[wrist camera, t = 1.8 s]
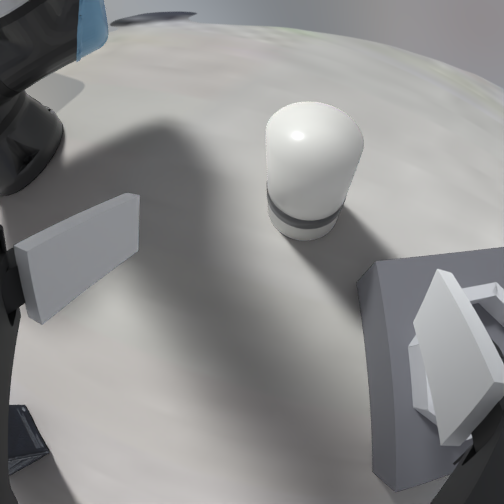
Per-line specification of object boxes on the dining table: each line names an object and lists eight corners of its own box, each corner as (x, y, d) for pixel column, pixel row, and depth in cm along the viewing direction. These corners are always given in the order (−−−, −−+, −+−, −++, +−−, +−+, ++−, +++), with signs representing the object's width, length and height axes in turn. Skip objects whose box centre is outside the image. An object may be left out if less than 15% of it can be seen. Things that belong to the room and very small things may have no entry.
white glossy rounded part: (264, 180, 33) (260, 103, 23) (331, 176, 33) (350, 101, 22) (270, 244, 30) (269, 178, 20) (344, 238, 30) (375, 173, 20)
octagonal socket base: (356, 282, 28) (386, 248, 20) (473, 267, 28) (520, 236, 20) (372, 471, 22) (407, 503, 14) (492, 431, 22) (544, 437, 14)
